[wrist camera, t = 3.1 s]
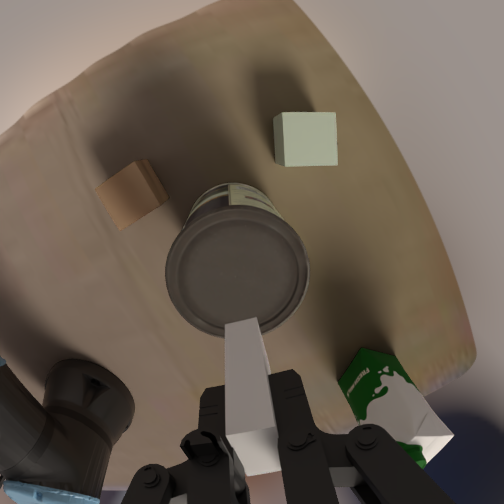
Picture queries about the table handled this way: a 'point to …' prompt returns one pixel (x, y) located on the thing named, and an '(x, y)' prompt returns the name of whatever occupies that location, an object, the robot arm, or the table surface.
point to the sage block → (305, 139)
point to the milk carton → (393, 404)
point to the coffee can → (236, 262)
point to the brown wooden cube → (132, 193)
